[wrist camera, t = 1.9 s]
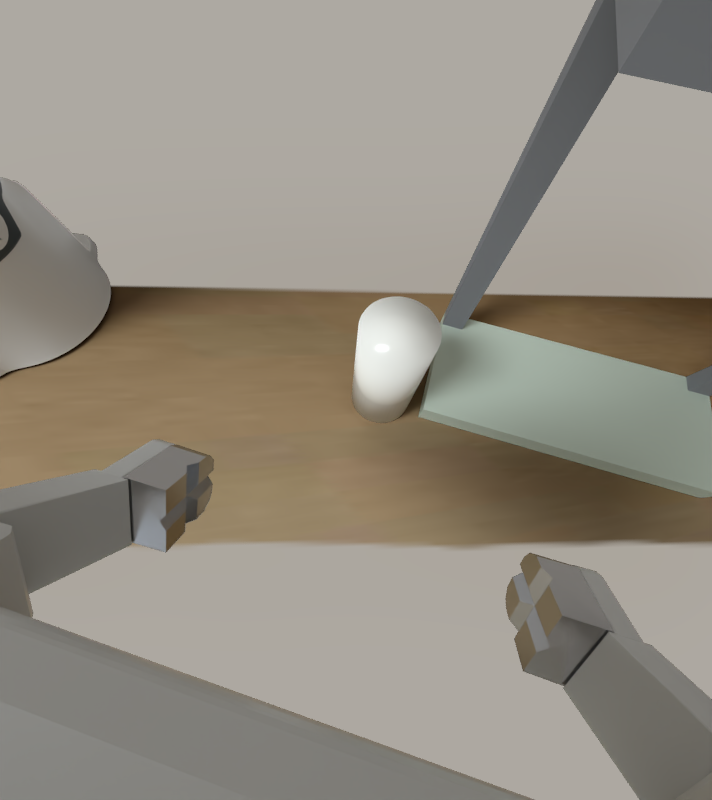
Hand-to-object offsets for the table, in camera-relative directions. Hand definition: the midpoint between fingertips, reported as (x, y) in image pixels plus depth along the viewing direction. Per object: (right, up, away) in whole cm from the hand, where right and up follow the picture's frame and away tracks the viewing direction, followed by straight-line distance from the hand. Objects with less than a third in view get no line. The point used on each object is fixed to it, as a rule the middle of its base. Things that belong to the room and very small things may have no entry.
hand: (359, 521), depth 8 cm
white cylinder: (+2, +3, +23) cm, 24 cm away
